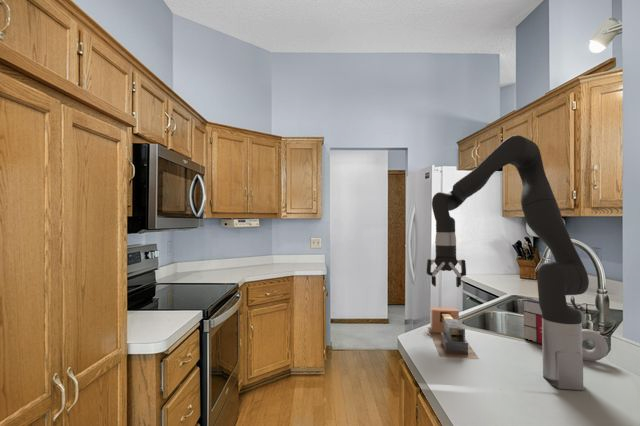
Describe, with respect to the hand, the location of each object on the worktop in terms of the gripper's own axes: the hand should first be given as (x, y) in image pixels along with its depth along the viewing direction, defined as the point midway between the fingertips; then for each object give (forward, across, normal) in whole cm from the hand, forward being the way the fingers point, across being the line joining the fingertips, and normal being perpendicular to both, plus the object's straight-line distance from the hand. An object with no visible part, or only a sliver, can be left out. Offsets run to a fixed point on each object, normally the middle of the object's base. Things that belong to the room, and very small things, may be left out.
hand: (446, 286), depth 139 cm
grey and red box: (+20, +33, +1) cm, 39 cm away
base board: (+20, 0, -7) cm, 21 cm away
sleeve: (+19, 0, -14) cm, 24 cm away
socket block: (+18, 0, +6) cm, 19 cm away
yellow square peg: (+14, 0, -4) cm, 15 cm away
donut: (+20, +41, -15) cm, 48 cm away
